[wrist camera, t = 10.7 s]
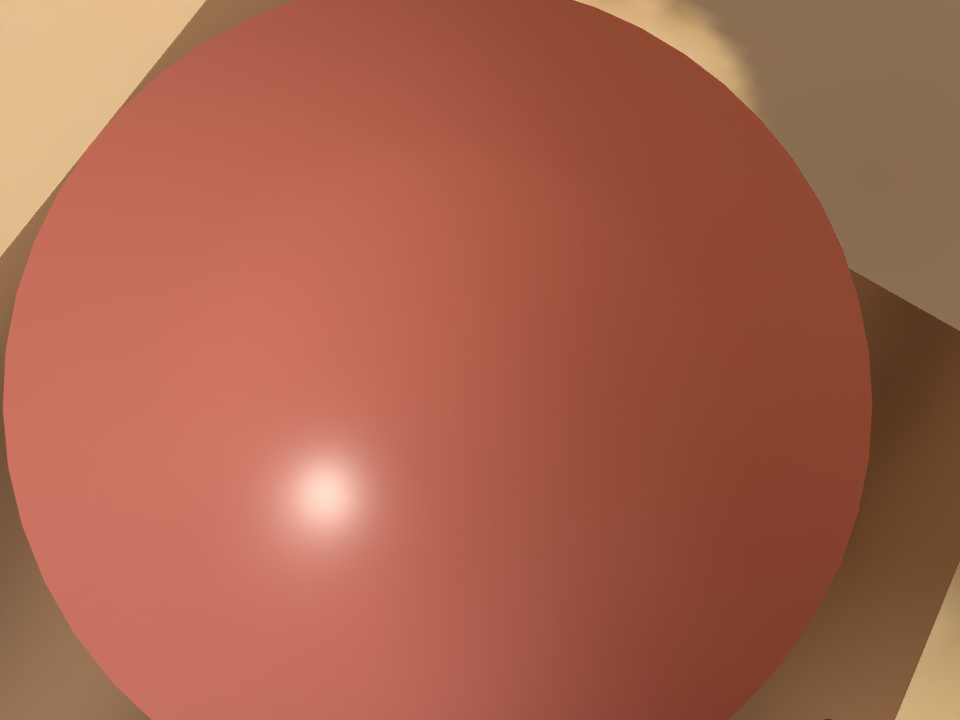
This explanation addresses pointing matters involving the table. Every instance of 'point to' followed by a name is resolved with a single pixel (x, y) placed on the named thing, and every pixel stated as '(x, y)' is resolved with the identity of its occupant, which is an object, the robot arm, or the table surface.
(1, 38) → the table surface
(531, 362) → the post
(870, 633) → the jig plate
